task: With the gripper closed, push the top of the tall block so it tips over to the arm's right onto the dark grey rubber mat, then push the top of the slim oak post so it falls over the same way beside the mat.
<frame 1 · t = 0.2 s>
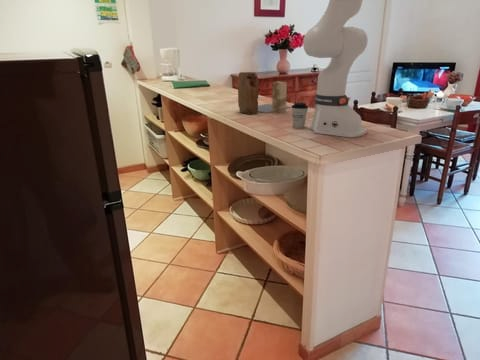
grey rubber mat: (266, 108, 187), on the table
block: (248, 113, 177), on the table
coffee cup: (298, 127, 147), on the table
oak post: (278, 112, 177), on the table
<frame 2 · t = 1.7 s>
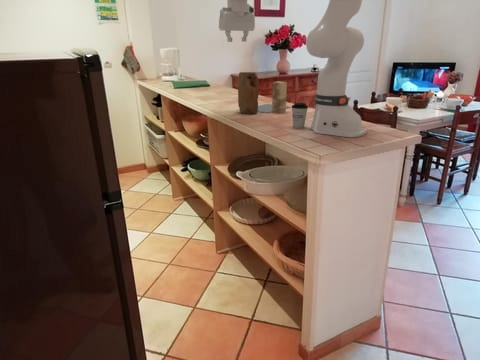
hand: (237, 41, 159), 34 cm above the table, tool pointing down, fingers open, 8 cm apart
nothing on the table moved.
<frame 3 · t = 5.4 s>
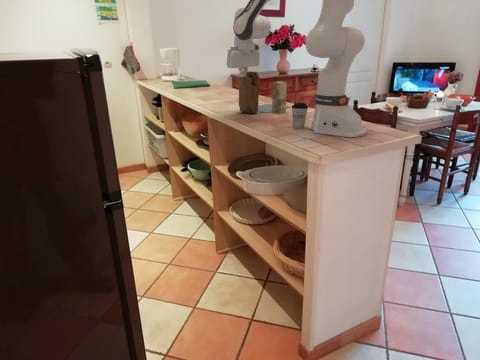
hand: (243, 76, 168), 18 cm above the table, tool pointing down, fingers closed
block: (248, 112, 177), on the table, touching gripper
everything else where it was.
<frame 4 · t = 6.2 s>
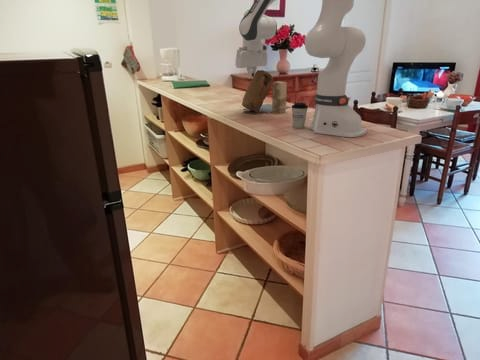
hand: (251, 76, 172), 18 cm above the table, tool pointing down, fingers closed
block: (249, 109, 176), point 2 cm above the table
everything else where it was.
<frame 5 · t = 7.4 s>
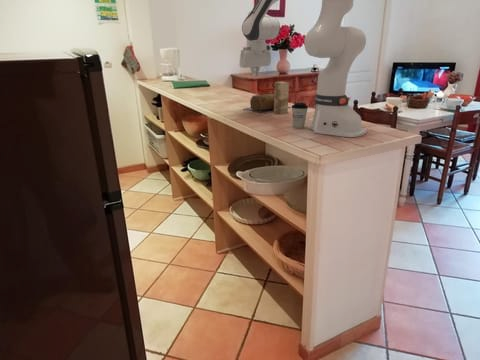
hand: (255, 76, 174), 18 cm above the table, tool pointing down, fingers closed
block: (254, 103, 177), point 4 cm above the table, touching grey rubber mat
oak post: (280, 112, 177), on the table
everything else where it was.
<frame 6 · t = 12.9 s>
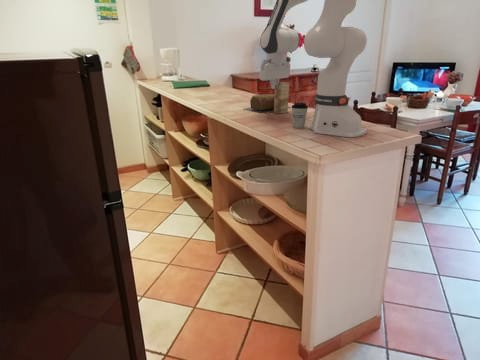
hand: (274, 88, 170), 12 cm above the table, tool pointing down, fingers closed
oak post: (280, 112, 177), on the table, touching gripper
everything else where it was.
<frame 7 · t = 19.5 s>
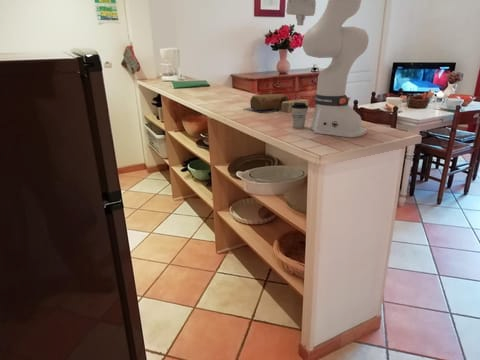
hand: (300, 25, 171), 41 cm above the table, tool pointing down, fingers closed
oak post: (285, 107, 177), point 2 cm above the table, tilted 90°
everything else where it was.
at the end: block tilted 92°; block inside the target area (5.1 cm from its centre), point 4.3 cm above the table; oak post tilted 90° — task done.
